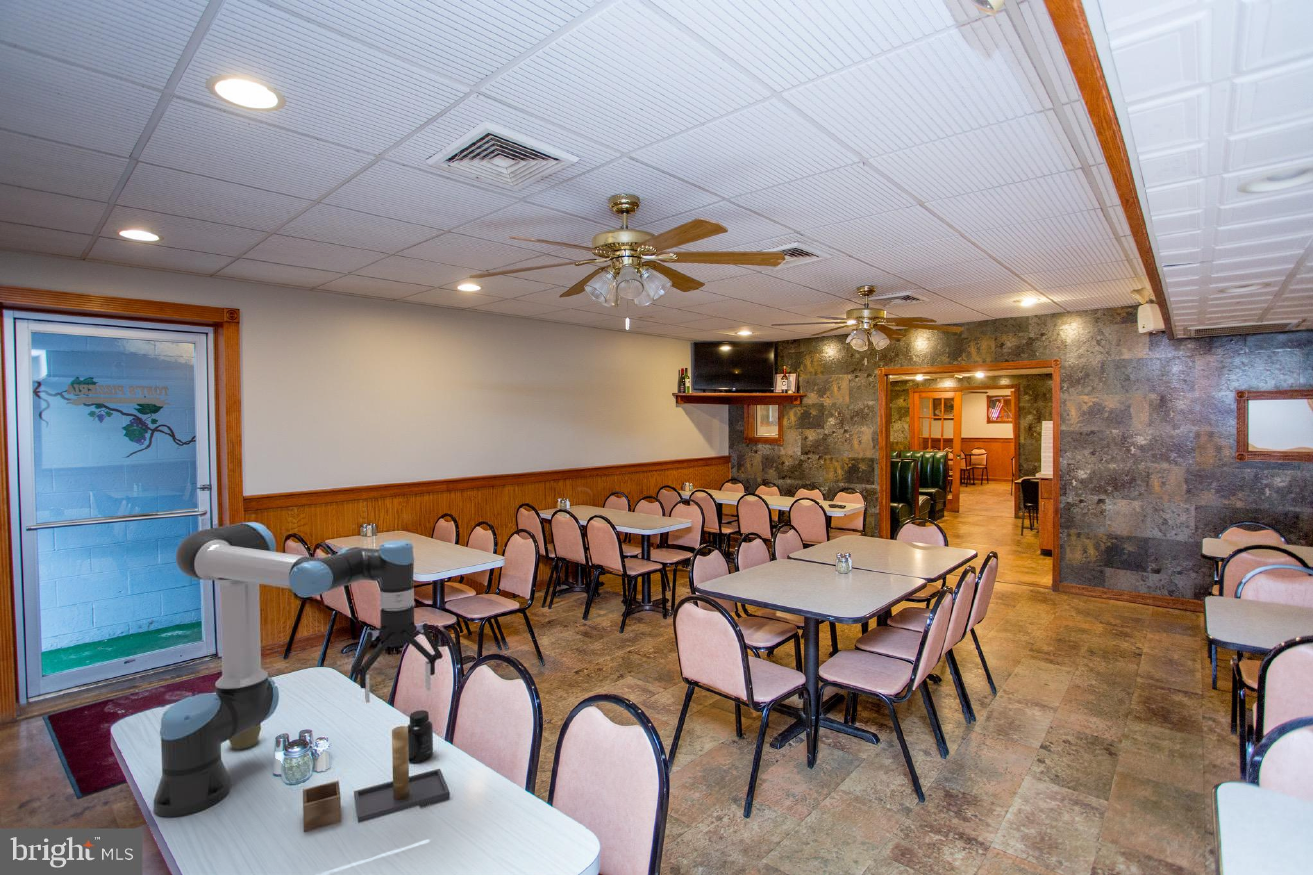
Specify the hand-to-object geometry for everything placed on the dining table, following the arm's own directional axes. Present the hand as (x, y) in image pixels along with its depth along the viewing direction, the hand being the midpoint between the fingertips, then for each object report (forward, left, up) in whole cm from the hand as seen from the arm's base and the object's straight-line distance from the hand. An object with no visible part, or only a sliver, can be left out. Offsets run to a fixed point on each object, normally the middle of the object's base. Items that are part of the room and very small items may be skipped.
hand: (398, 694), depth 154 cm
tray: (0, 0, -25) cm, 25 cm away
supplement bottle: (+7, +18, -26) cm, 32 cm away
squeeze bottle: (-35, +51, -26) cm, 67 cm away
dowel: (0, 0, -25) cm, 24 cm away
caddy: (-17, 0, -25) cm, 30 cm away
